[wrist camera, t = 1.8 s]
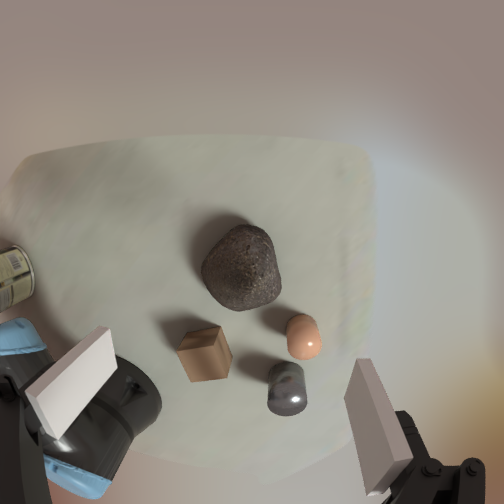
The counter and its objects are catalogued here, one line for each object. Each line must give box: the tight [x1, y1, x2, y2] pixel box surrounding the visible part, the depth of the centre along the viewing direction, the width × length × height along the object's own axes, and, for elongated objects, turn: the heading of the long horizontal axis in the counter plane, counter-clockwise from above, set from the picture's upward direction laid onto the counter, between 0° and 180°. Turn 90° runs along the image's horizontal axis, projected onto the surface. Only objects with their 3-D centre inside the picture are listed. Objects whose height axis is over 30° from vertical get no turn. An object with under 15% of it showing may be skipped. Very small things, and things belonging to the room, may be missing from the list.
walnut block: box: [176, 326, 232, 382], centre depth 34 cm, size 5×5×5 cm
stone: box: [201, 225, 282, 311], centre depth 32 cm, size 10×8×10 cm
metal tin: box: [267, 362, 307, 416], centre depth 34 cm, size 5×5×6 cm
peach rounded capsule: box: [286, 314, 322, 360], centre depth 33 cm, size 4×4×4 cm
